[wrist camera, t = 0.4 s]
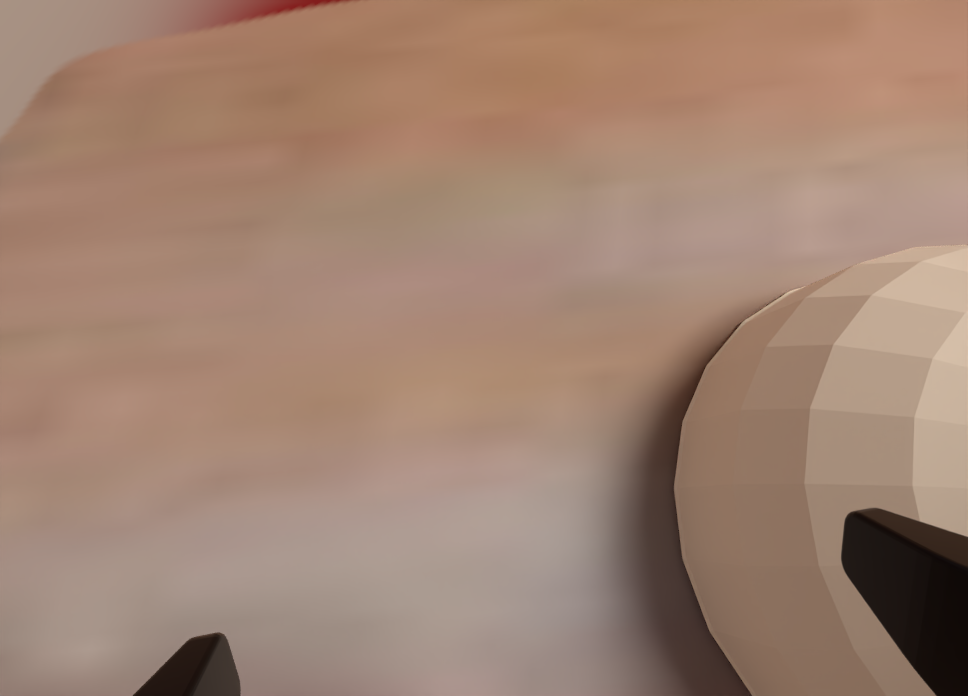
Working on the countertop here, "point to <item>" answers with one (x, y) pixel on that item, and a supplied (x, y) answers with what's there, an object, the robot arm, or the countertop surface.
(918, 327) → the kettle
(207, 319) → the countertop surface
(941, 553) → the robot arm
